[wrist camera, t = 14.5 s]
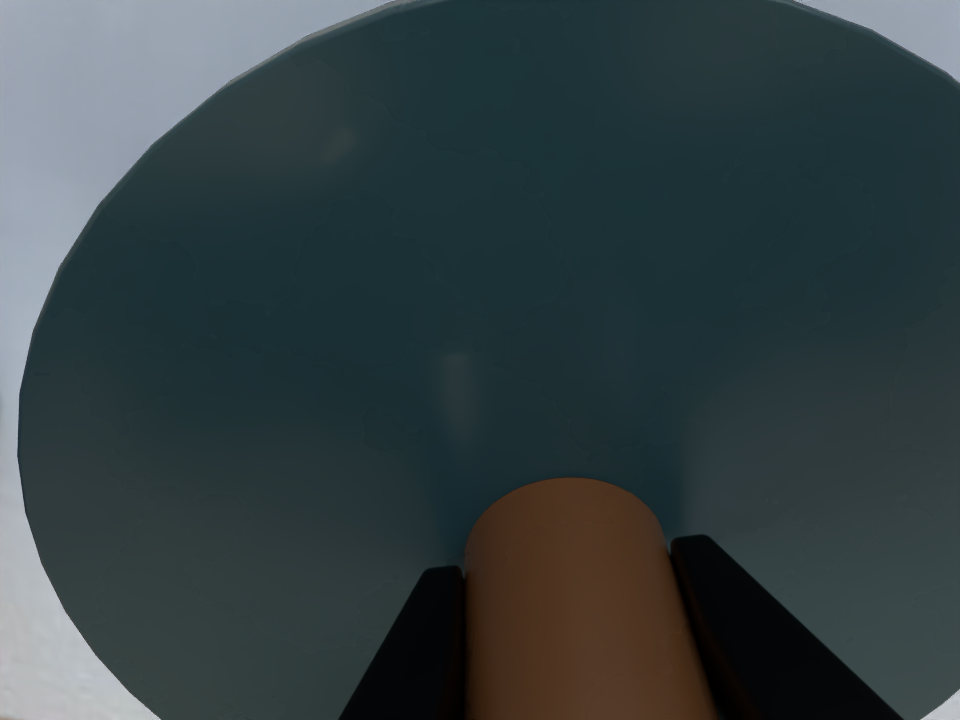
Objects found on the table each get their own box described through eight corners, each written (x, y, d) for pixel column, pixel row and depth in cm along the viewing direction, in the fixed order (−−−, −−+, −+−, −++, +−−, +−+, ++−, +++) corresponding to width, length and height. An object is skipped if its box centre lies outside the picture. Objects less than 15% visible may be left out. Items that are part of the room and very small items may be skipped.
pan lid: (1195, -149, 7) (2386, -198, 3) (968, 732, 13) (1211, 1143, 9) (-155, 78, 8) (-936, 329, 3) (236, 809, 14) (135, 1222, 10)
